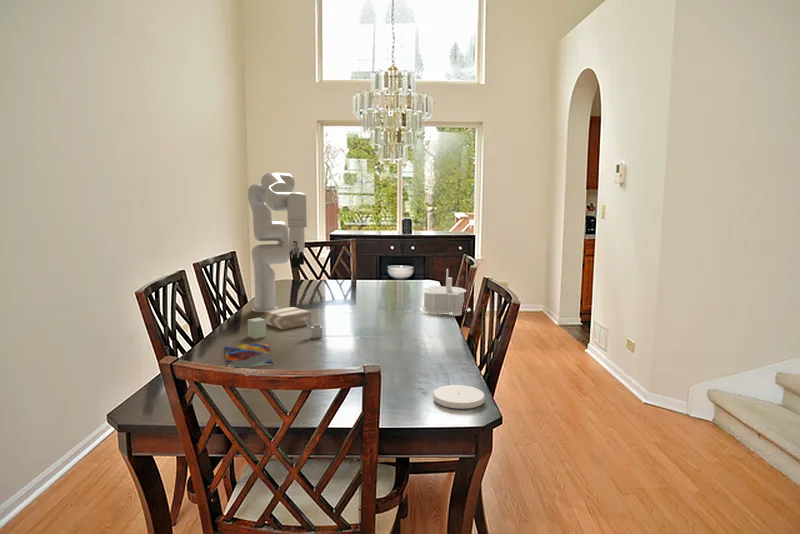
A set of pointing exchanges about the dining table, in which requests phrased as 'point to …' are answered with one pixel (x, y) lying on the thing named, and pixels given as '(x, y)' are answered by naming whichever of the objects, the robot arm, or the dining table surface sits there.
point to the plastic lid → (458, 396)
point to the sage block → (256, 328)
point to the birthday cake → (444, 298)
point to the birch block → (287, 317)
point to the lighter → (314, 329)
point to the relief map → (249, 355)
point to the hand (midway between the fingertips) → (297, 266)
